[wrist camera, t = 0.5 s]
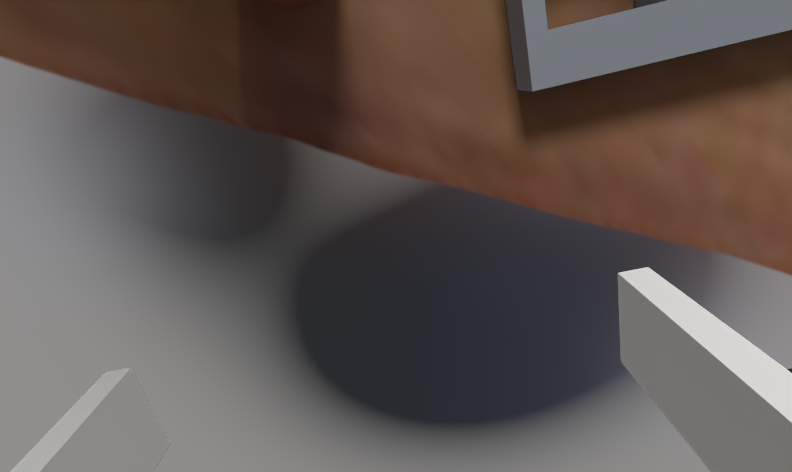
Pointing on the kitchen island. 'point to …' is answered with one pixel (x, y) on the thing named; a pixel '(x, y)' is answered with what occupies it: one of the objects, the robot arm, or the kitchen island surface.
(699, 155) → the kitchen island surface
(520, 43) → the keyhole board
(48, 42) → the kitchen island surface
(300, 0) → the soda can
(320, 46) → the kitchen island surface
